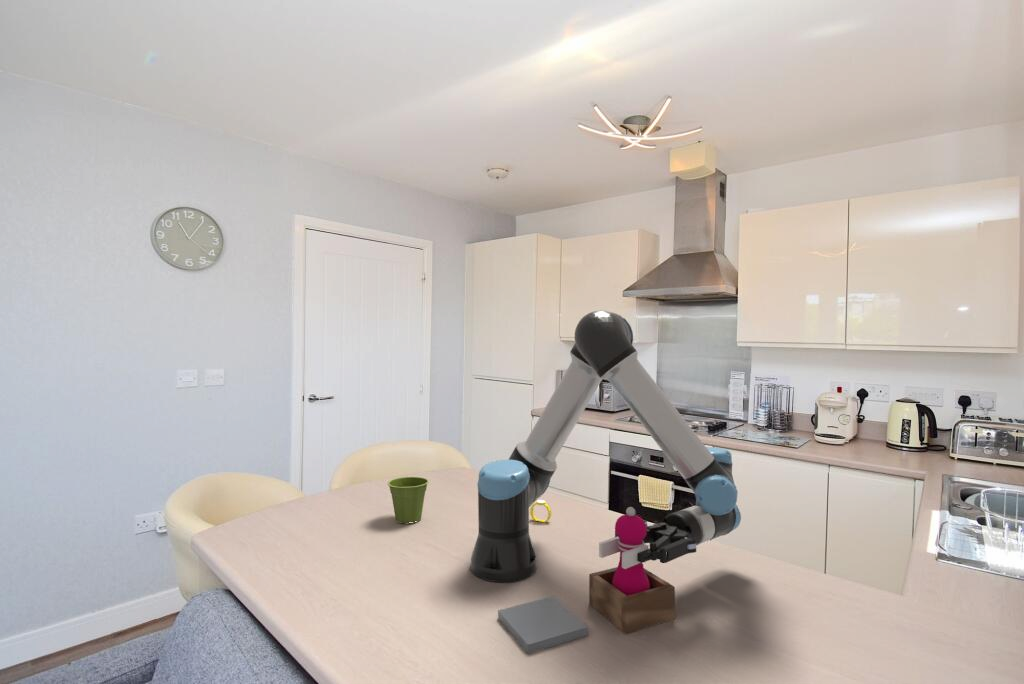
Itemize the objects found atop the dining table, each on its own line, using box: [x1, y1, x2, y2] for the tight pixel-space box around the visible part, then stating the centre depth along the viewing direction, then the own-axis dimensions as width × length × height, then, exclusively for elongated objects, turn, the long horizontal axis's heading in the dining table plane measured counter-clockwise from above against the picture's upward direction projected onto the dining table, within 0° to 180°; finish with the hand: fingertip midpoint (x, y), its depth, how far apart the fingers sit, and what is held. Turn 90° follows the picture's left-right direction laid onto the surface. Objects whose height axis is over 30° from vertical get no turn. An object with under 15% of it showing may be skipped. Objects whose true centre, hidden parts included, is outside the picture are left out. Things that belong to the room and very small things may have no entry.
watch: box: [529, 499, 552, 524], centre depth 147 cm, size 6×3×6 cm, turn 65°
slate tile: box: [497, 595, 589, 655], centre depth 93 cm, size 12×12×2 cm
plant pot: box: [386, 476, 430, 524], centre depth 148 cm, size 12×12×11 cm
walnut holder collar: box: [588, 566, 676, 635], centre depth 98 cm, size 11×11×6 cm
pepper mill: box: [612, 506, 650, 596], centre depth 98 cm, size 7×7×20 cm
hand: (611, 555), depth 95 cm, fingers closed on pepper mill, 5 cm apart
